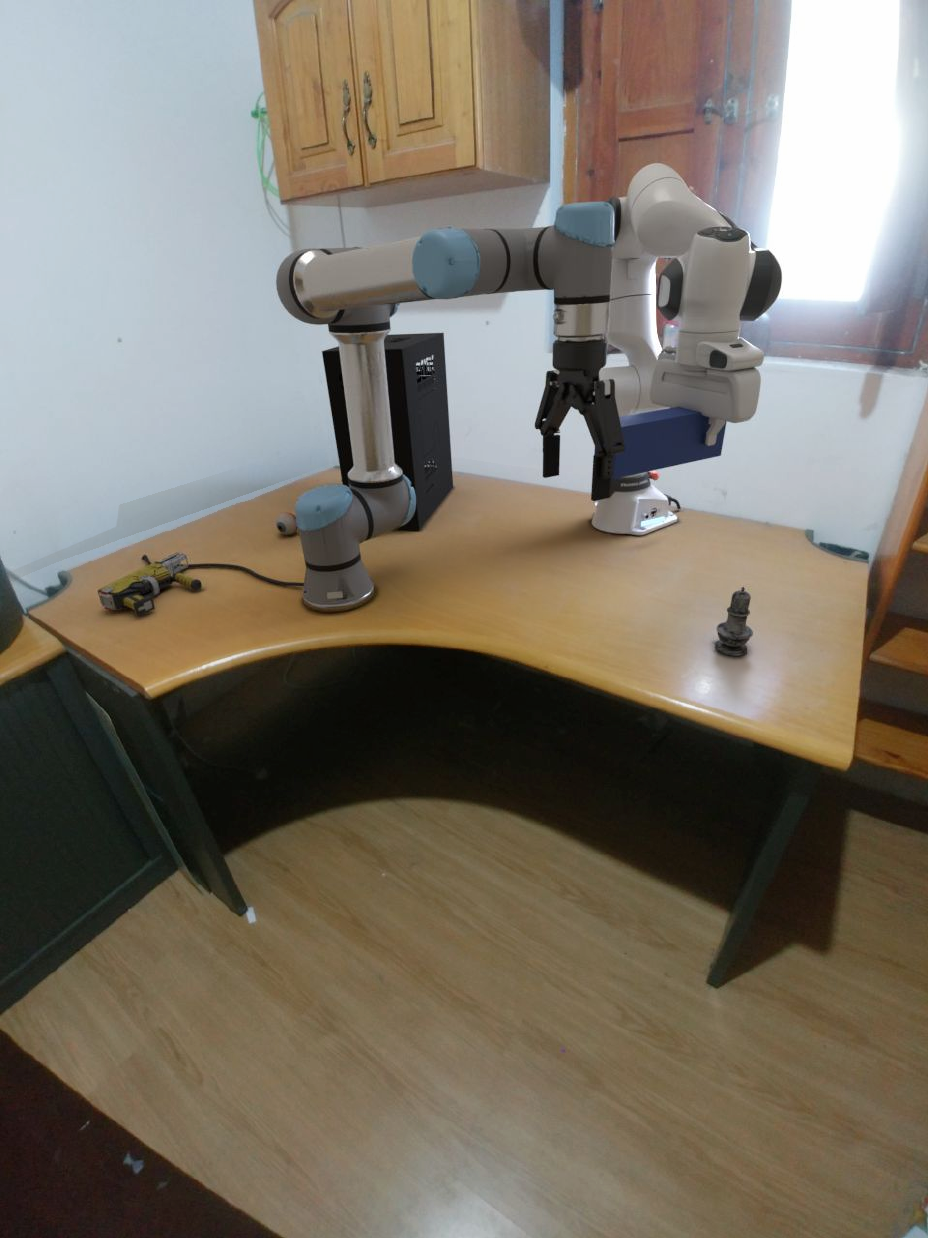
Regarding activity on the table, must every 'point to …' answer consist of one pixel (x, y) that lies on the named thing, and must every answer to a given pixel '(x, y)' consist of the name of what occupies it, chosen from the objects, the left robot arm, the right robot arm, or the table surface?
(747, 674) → the table surface
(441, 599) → the table surface
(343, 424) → the black tall block
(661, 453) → the bar
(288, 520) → the eyeball
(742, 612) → the chess piece
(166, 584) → the toy gun
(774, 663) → the table surface
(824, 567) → the table surface
